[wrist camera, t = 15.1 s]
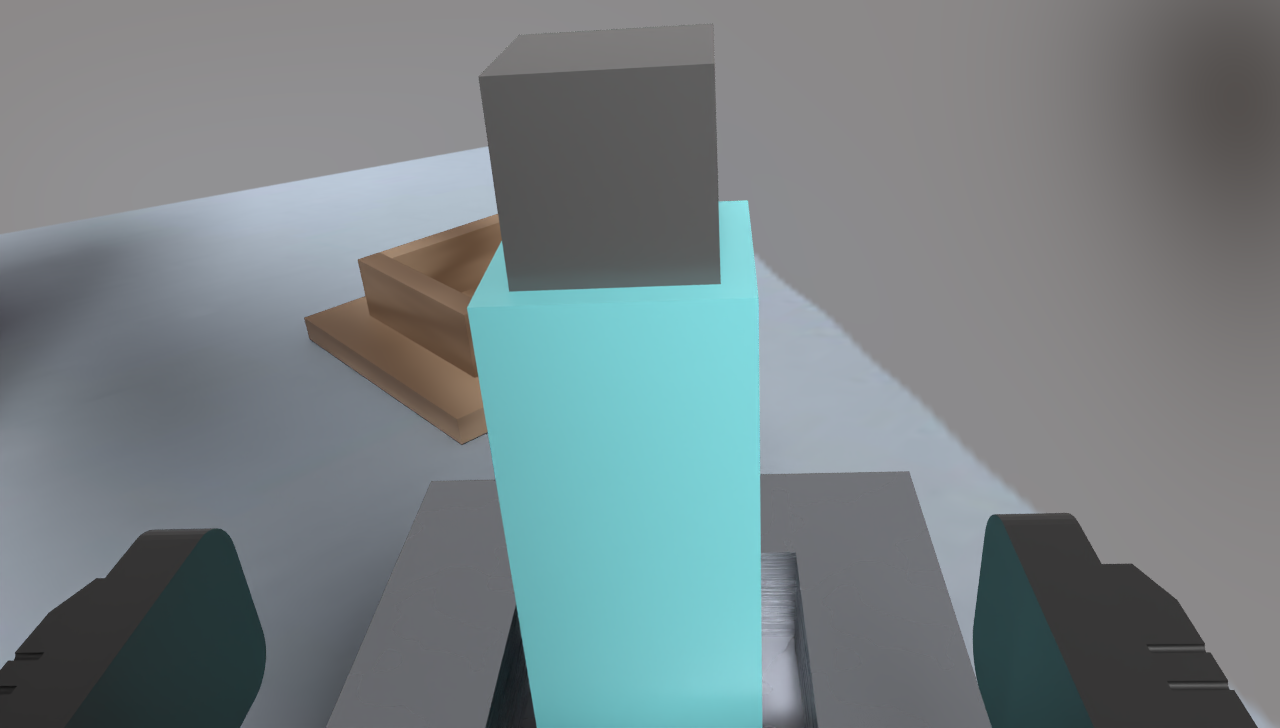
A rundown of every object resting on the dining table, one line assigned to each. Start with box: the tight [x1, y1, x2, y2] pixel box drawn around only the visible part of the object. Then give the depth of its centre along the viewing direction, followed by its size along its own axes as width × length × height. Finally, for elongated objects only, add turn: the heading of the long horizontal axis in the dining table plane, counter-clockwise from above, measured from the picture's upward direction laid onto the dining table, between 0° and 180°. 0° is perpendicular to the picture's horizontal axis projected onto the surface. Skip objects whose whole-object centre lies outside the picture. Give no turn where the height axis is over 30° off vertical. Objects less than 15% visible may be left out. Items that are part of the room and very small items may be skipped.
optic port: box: [326, 471, 992, 728], centre depth 20 cm, size 12×12×4 cm
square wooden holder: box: [304, 214, 502, 444], centre depth 39 cm, size 12×12×4 cm
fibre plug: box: [467, 24, 762, 728], centre depth 17 cm, size 4×4×14 cm
